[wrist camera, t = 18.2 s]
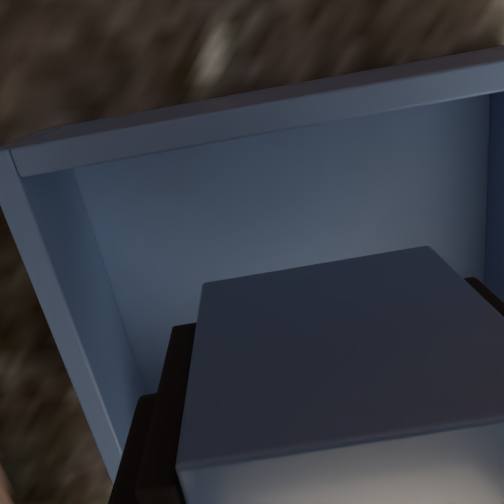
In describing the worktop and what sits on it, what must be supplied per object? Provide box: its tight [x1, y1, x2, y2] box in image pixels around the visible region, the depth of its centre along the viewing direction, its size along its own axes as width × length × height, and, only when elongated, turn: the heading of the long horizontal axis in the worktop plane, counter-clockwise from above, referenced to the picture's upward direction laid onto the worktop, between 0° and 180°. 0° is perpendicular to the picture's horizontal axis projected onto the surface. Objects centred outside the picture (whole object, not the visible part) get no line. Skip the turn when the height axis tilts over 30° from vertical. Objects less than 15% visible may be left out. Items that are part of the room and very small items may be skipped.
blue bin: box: [0, 45, 504, 485], centre depth 12 cm, size 12×10×4 cm
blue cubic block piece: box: [175, 246, 504, 504], centre depth 8 cm, size 4×4×4 cm
